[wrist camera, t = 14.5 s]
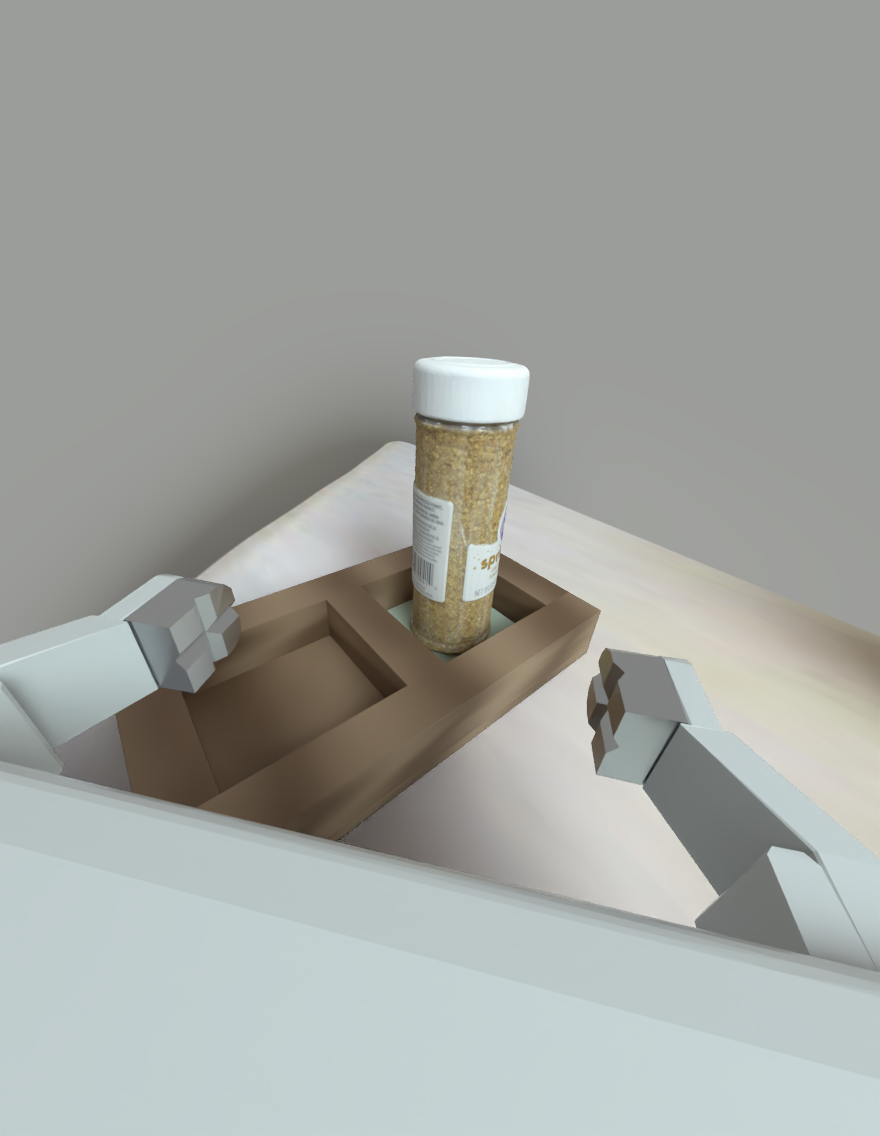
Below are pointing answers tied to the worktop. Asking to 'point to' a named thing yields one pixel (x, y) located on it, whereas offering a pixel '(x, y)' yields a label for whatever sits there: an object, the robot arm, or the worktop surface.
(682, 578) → the worktop surface
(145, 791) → the spice caddy
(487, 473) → the sprinkles bottle
